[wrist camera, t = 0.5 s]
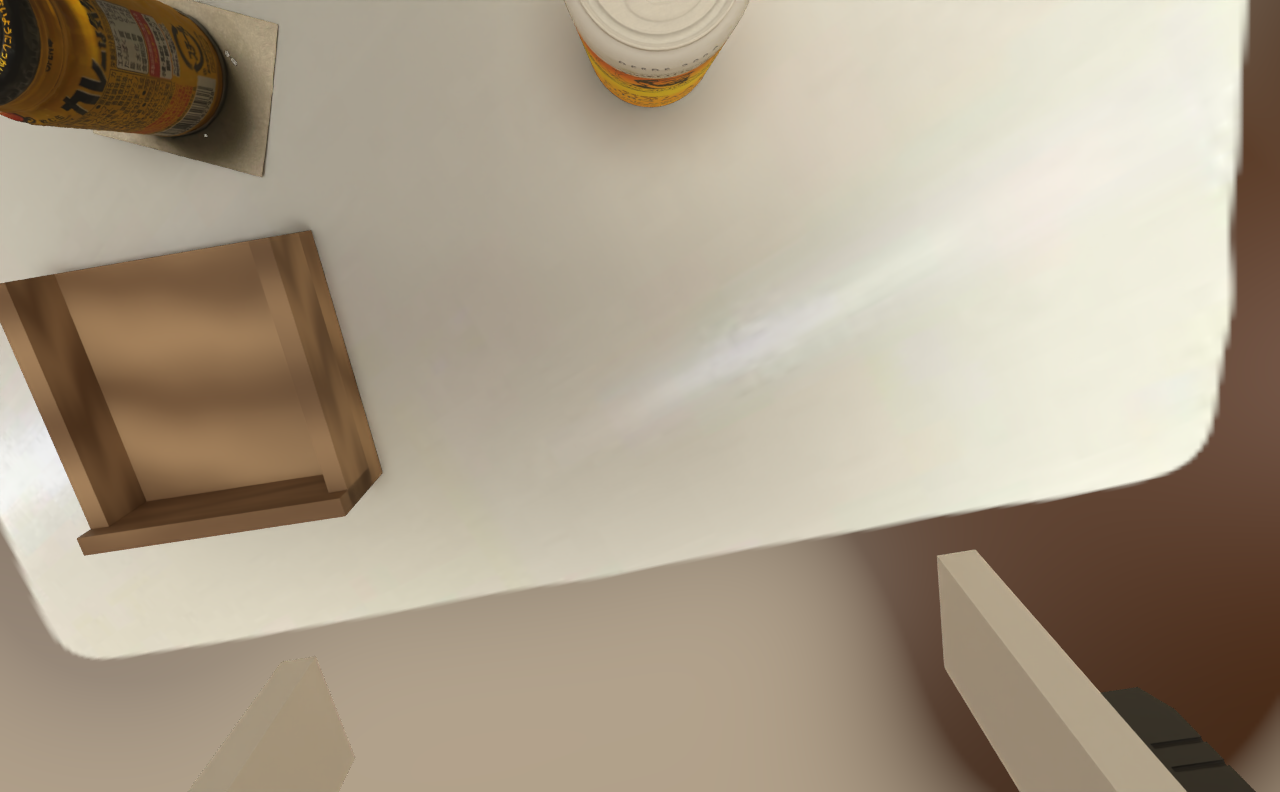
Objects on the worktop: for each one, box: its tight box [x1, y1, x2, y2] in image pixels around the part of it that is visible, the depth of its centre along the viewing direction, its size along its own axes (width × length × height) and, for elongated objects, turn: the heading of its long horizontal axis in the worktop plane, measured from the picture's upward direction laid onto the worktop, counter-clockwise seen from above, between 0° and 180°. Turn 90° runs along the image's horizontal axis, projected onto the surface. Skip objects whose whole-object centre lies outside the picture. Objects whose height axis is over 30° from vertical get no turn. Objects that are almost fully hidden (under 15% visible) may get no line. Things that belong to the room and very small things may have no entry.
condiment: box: [0, 0, 278, 177], centre depth 30 cm, size 7×8×12 cm
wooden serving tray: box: [0, 230, 382, 556], centre depth 37 cm, size 14×14×6 cm
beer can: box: [564, 0, 749, 107], centre depth 28 cm, size 6×6×15 cm
